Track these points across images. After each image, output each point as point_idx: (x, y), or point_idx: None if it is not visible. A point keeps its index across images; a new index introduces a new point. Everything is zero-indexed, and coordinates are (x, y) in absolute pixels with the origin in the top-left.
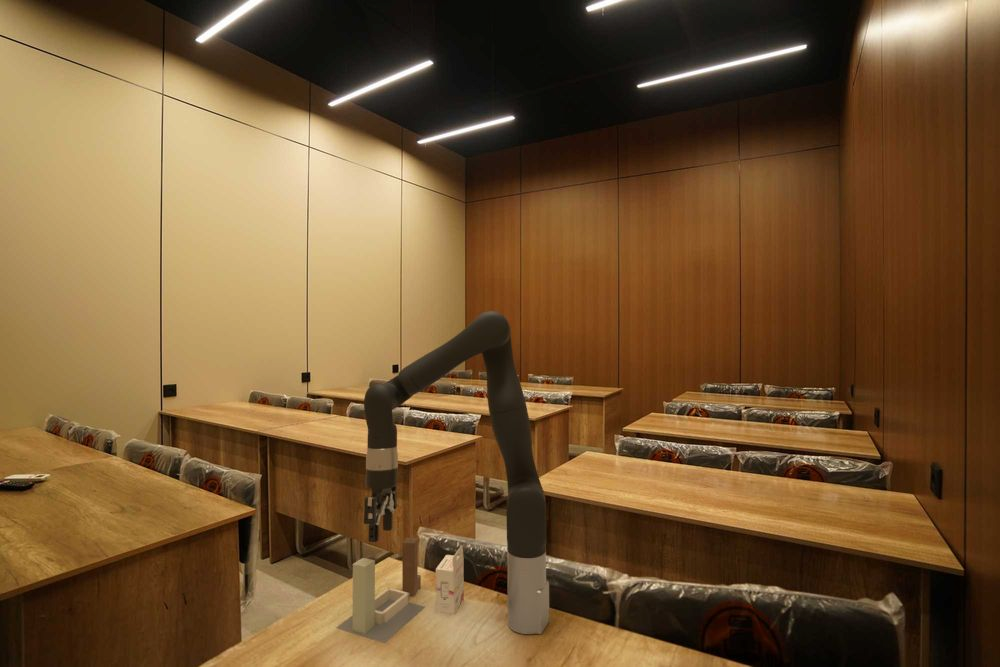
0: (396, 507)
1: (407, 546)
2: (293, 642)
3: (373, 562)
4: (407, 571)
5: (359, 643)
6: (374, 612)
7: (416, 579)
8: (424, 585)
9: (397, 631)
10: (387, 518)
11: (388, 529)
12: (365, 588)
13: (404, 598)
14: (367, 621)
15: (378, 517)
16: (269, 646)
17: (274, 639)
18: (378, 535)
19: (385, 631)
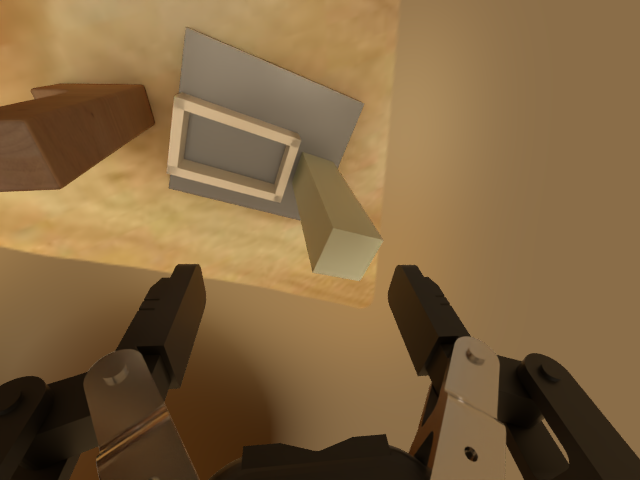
0: (11, 392)
1: (59, 156)
2: None
3: (340, 227)
4: (115, 126)
5: (342, 163)
6: (307, 161)
7: (92, 90)
8: (30, 75)
9: (320, 85)
10: (182, 342)
11: (201, 278)
12: (357, 203)
13: (204, 105)
14: (329, 166)
15: (493, 391)
16: (349, 287)
17: (333, 290)
18: (415, 282)
19: (322, 117)
